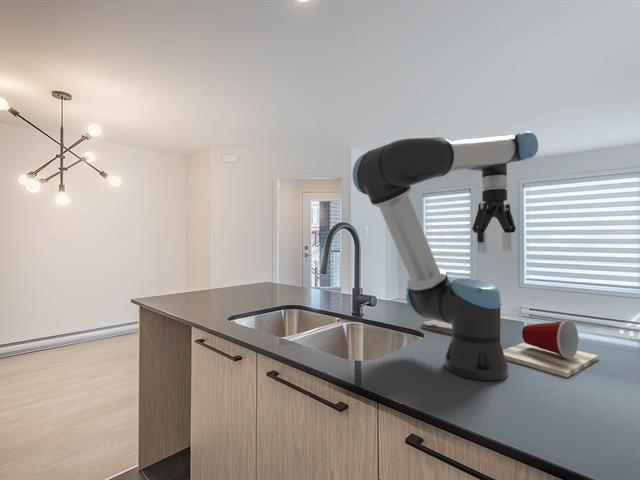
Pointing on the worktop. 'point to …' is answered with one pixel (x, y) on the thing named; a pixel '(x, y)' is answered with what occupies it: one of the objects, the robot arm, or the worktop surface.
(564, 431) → the worktop surface
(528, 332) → the plastic cup
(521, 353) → the cutting board
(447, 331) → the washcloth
